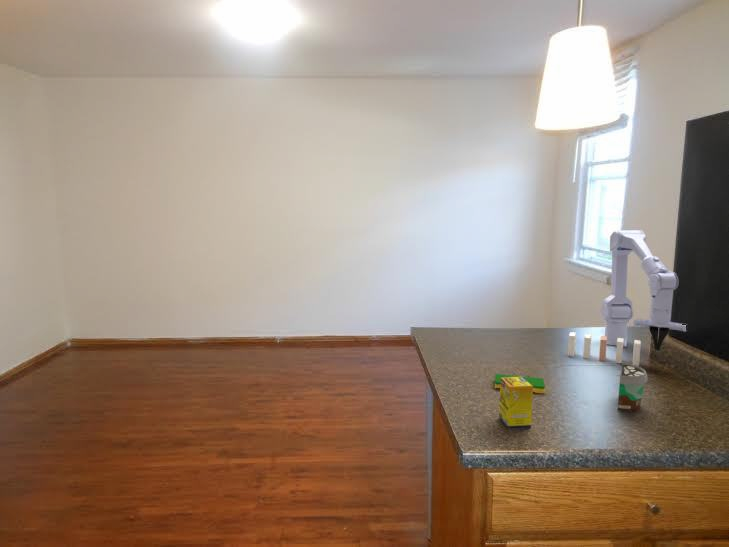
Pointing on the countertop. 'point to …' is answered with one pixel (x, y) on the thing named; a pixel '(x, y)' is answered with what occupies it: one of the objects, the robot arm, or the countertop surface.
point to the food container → (631, 387)
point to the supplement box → (515, 402)
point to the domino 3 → (603, 348)
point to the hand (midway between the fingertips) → (657, 349)
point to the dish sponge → (535, 382)
